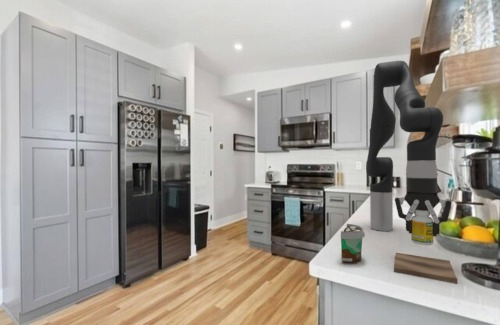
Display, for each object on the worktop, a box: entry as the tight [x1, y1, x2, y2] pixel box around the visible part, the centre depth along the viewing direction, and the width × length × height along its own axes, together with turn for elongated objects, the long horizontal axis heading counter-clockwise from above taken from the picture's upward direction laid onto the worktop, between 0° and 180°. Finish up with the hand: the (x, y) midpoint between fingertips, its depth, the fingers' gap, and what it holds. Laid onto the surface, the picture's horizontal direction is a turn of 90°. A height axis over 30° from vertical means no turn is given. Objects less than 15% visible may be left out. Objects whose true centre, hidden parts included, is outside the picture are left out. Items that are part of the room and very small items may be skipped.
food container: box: [340, 223, 366, 265], centre depth 81 cm, size 12×6×10 cm, turn 151°
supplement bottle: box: [410, 210, 434, 246], centre depth 74 cm, size 5×5×10 cm
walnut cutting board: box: [393, 252, 458, 284], centre depth 74 cm, size 14×14×1 cm
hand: (422, 234), depth 74 cm, fingers closed on supplement bottle, 5 cm apart
